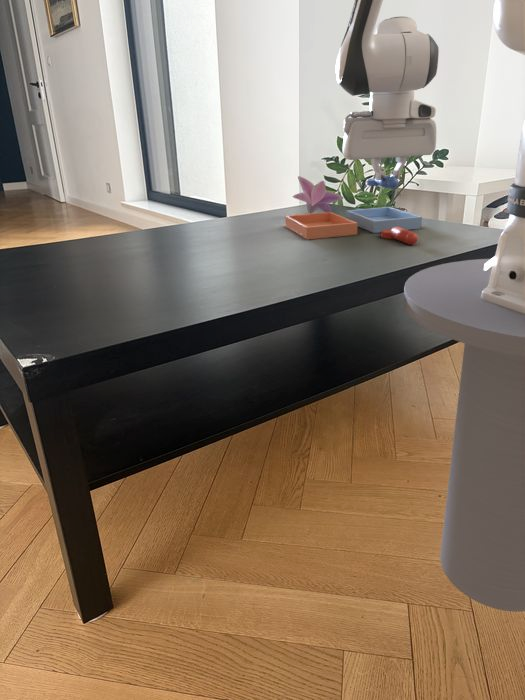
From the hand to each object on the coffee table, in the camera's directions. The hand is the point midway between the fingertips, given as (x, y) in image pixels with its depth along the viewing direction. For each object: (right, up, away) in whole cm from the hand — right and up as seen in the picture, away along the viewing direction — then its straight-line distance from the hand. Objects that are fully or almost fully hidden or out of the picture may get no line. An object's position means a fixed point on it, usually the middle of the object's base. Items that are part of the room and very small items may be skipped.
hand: (387, 179), depth 119 cm
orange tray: (-15, -10, +2) cm, 18 cm away
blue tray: (0, -8, +6) cm, 10 cm away
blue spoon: (0, -1, +2) cm, 3 cm away
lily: (-14, -4, +18) cm, 23 cm away
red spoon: (0, -15, -9) cm, 18 cm away
